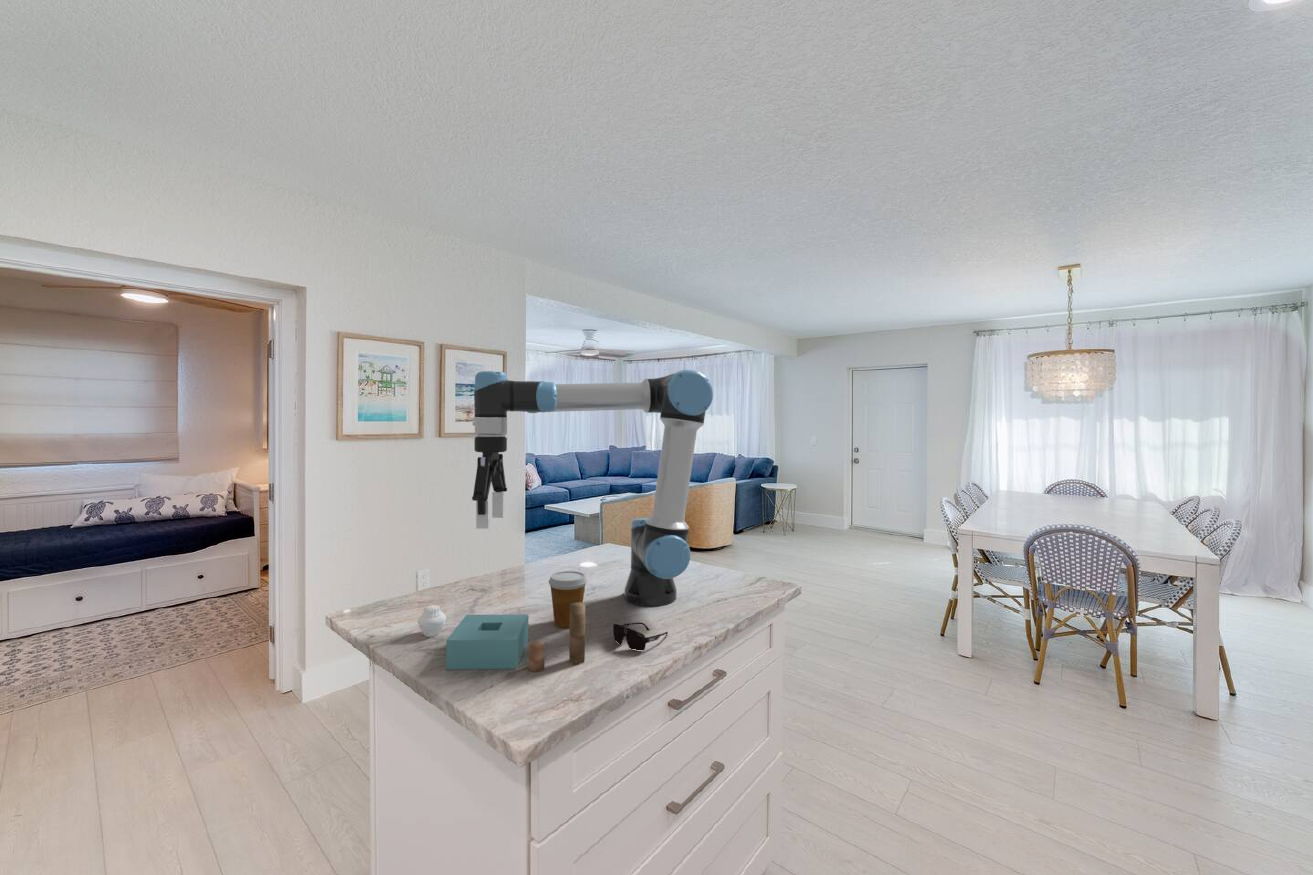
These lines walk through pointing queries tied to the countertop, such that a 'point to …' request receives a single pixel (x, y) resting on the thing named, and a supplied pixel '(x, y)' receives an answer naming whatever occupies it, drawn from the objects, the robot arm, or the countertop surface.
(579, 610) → the tall pin
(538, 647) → the short pin
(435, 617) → the white ribbed jar
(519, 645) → the hole block
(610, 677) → the countertop surface
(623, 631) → the sunglasses
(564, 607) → the disposable coffee cup
